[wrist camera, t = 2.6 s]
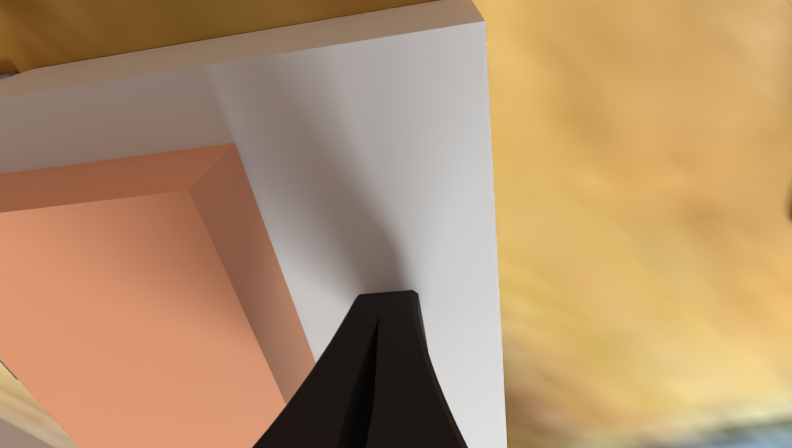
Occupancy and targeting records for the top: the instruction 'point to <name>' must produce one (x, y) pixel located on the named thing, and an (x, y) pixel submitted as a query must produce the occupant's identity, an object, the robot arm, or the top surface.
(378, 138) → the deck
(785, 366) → the top surface
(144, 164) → the orange block
